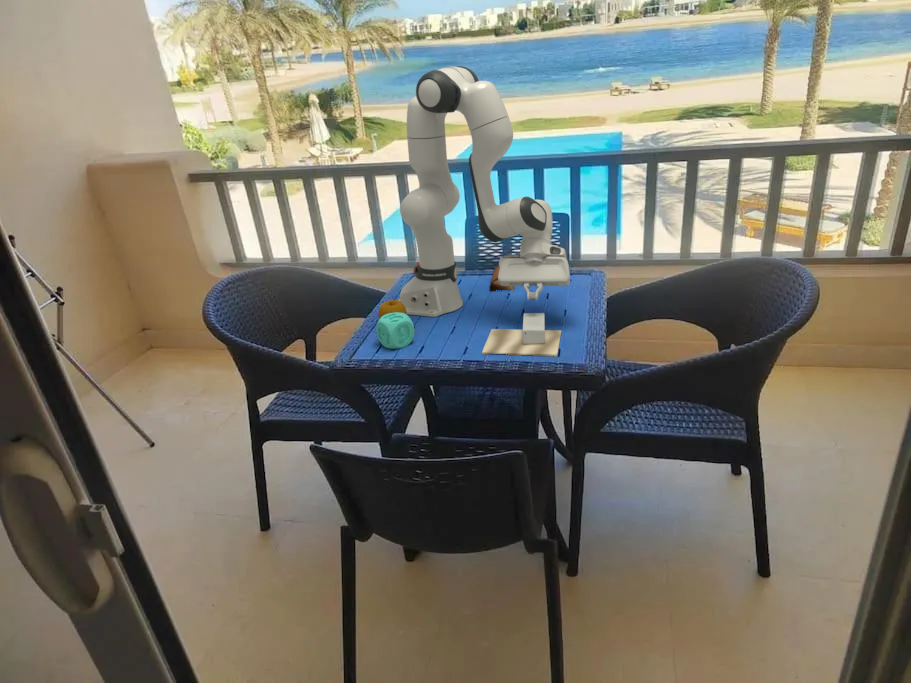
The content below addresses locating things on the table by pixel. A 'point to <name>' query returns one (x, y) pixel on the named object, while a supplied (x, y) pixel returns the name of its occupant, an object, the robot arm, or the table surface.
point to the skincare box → (534, 328)
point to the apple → (391, 308)
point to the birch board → (521, 343)
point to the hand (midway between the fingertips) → (532, 299)
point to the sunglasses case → (495, 283)
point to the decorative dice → (395, 330)
